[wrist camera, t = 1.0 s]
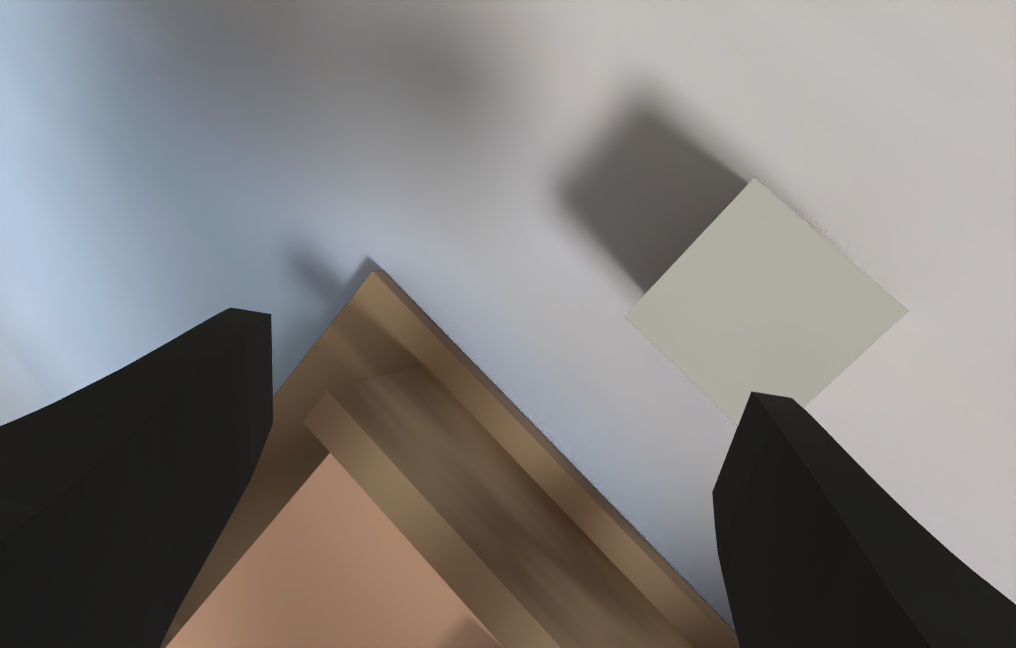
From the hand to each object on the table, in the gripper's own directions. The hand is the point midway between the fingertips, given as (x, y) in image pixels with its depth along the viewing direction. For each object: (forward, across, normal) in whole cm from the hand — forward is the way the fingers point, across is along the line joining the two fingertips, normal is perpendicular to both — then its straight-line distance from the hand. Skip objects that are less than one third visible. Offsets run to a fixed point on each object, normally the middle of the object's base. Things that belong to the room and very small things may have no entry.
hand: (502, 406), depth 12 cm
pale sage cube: (+11, -8, +3) cm, 14 cm away
